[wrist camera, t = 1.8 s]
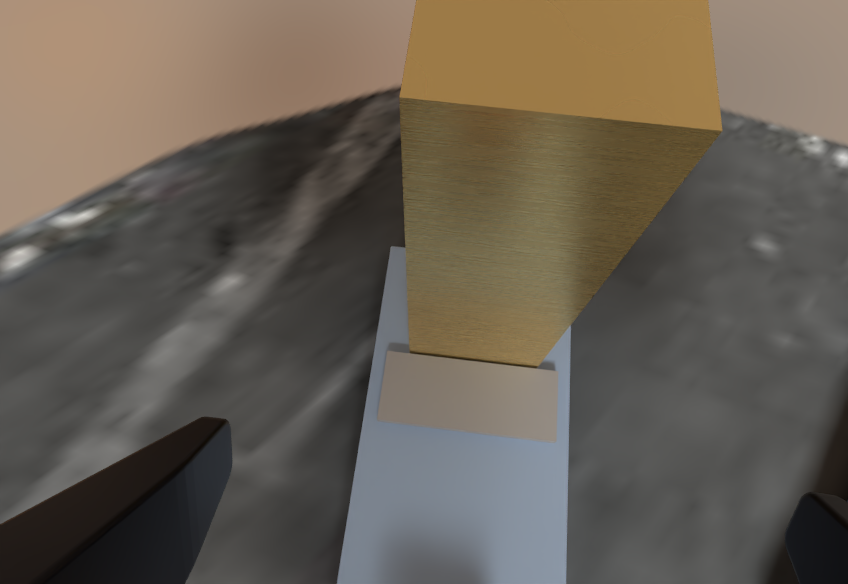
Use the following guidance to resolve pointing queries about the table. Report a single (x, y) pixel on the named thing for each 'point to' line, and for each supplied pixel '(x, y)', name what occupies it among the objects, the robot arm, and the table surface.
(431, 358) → the plane body
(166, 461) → the robot arm
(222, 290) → the table surface
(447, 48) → the tan tall block
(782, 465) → the table surface
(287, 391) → the table surface
